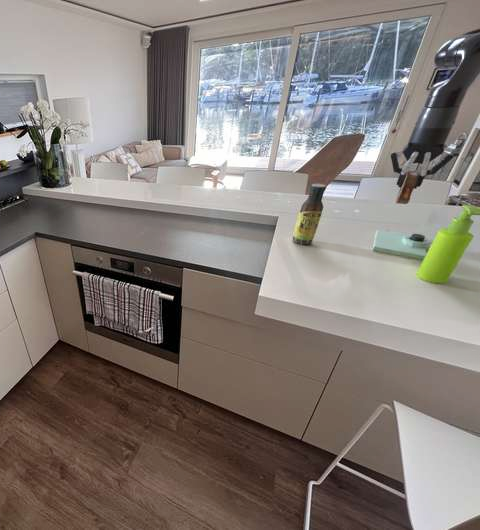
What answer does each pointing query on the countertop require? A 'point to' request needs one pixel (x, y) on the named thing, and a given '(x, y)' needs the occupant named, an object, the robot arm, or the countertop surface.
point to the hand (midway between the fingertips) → (406, 187)
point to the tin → (407, 187)
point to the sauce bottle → (309, 215)
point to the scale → (399, 244)
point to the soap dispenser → (448, 248)
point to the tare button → (417, 237)
